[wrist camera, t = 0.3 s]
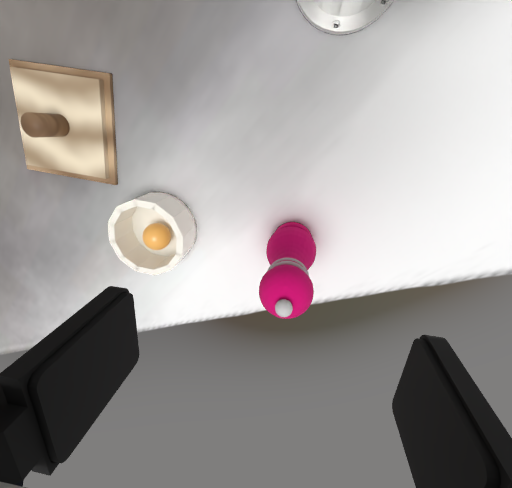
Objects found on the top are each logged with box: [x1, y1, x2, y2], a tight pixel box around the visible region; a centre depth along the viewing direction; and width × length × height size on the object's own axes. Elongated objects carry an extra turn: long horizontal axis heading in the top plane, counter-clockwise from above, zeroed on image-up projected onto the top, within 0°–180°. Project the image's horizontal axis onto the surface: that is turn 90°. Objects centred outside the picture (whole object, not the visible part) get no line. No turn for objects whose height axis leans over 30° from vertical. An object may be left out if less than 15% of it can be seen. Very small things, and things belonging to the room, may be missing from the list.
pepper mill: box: [259, 222, 316, 319], centre depth 37 cm, size 7×7×20 cm
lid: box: [10, 67, 110, 179], centre depth 42 cm, size 14×14×6 cm
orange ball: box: [142, 223, 171, 250], centre depth 47 cm, size 4×4×4 cm
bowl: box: [108, 192, 197, 275], centre depth 47 cm, size 12×12×6 cm
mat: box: [9, 59, 118, 185], centre depth 45 cm, size 16×16×1 cm
